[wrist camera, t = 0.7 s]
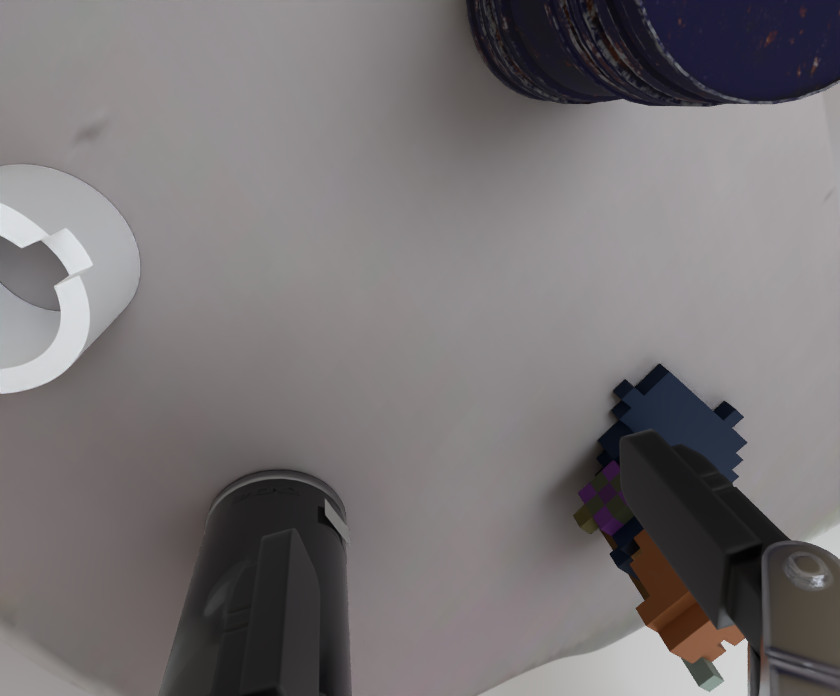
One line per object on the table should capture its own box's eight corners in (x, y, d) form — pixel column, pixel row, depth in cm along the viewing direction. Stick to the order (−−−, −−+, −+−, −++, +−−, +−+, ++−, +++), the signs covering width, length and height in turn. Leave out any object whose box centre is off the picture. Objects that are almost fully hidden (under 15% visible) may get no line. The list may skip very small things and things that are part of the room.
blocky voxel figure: (522, 478, 38) (603, 637, 27) (663, 342, 35) (822, 458, 24) (640, 555, 44) (747, 711, 33) (770, 444, 41) (938, 575, 30)
